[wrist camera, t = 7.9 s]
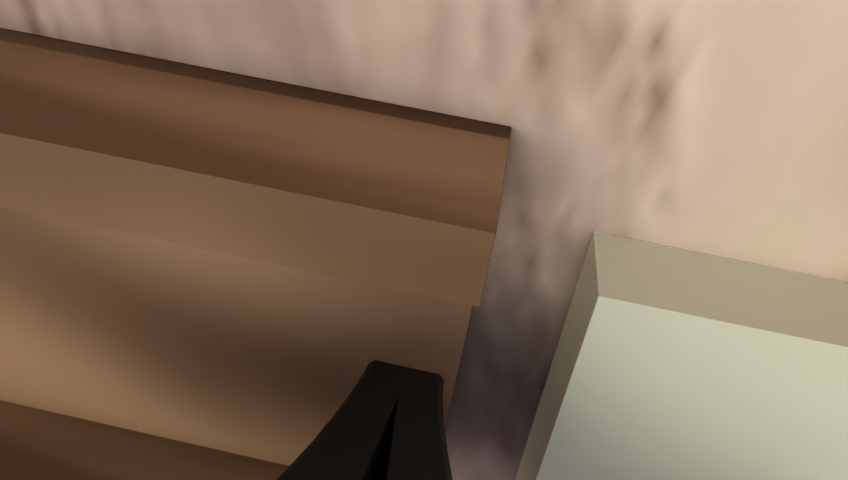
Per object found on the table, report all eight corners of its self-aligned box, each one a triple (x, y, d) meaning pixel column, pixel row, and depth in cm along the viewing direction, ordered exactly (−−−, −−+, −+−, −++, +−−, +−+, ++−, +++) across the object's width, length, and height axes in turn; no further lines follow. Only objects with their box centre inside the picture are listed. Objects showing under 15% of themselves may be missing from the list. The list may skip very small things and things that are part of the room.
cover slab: (855, 543, 16) (896, 647, 14) (515, 468, 17) (509, 558, 15) (1038, 308, 13) (1127, 405, 11) (592, 220, 13) (598, 296, 11)
